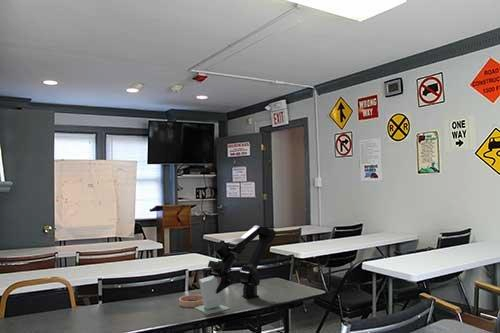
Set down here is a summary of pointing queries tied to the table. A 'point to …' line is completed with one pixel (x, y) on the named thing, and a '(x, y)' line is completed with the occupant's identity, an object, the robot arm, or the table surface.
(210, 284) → the supplement box
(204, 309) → the sage mat
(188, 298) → the terracotta ring
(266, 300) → the table surface
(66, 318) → the table surface
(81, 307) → the table surface
